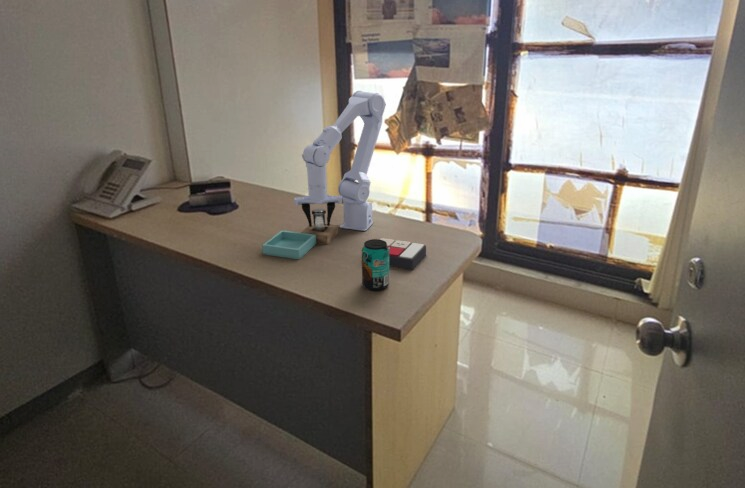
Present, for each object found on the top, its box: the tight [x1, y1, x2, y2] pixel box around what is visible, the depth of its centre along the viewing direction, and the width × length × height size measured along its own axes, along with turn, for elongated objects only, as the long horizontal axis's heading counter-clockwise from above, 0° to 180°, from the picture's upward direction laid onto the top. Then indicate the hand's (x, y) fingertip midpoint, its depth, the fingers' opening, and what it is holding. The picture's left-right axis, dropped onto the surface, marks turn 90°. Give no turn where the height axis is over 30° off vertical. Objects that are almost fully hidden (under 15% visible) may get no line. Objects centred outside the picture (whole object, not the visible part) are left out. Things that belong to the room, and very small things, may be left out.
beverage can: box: [361, 238, 390, 292], centre depth 124 cm, size 7×7×12 cm
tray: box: [261, 229, 318, 260], centre depth 148 cm, size 12×12×3 cm
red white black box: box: [379, 237, 427, 271], centre depth 142 cm, size 11×4×15 cm
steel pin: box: [311, 208, 327, 232], centre depth 155 cm, size 4×4×9 cm
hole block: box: [300, 221, 339, 245], centre depth 156 cm, size 9×9×3 cm
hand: (319, 225), depth 155 cm, fingers open, 5 cm apart
